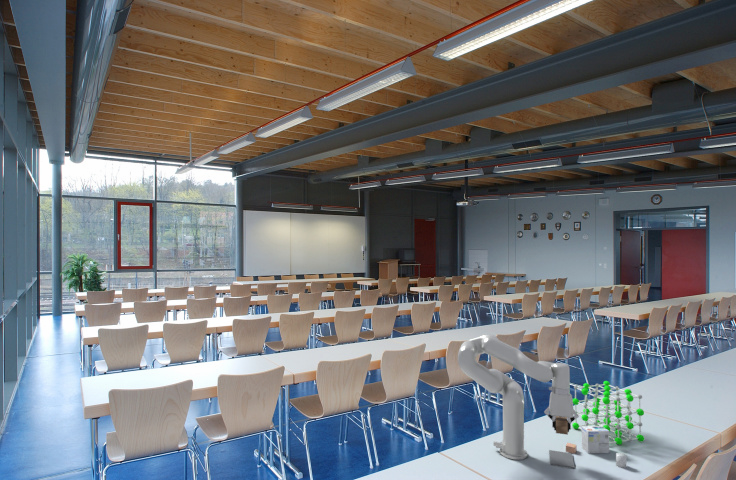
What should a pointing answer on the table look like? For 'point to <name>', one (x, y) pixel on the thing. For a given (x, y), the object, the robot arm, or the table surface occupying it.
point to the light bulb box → (595, 439)
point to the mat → (561, 459)
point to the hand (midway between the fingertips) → (561, 429)
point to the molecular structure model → (608, 409)
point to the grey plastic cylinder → (621, 460)
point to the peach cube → (571, 448)
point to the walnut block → (561, 425)
